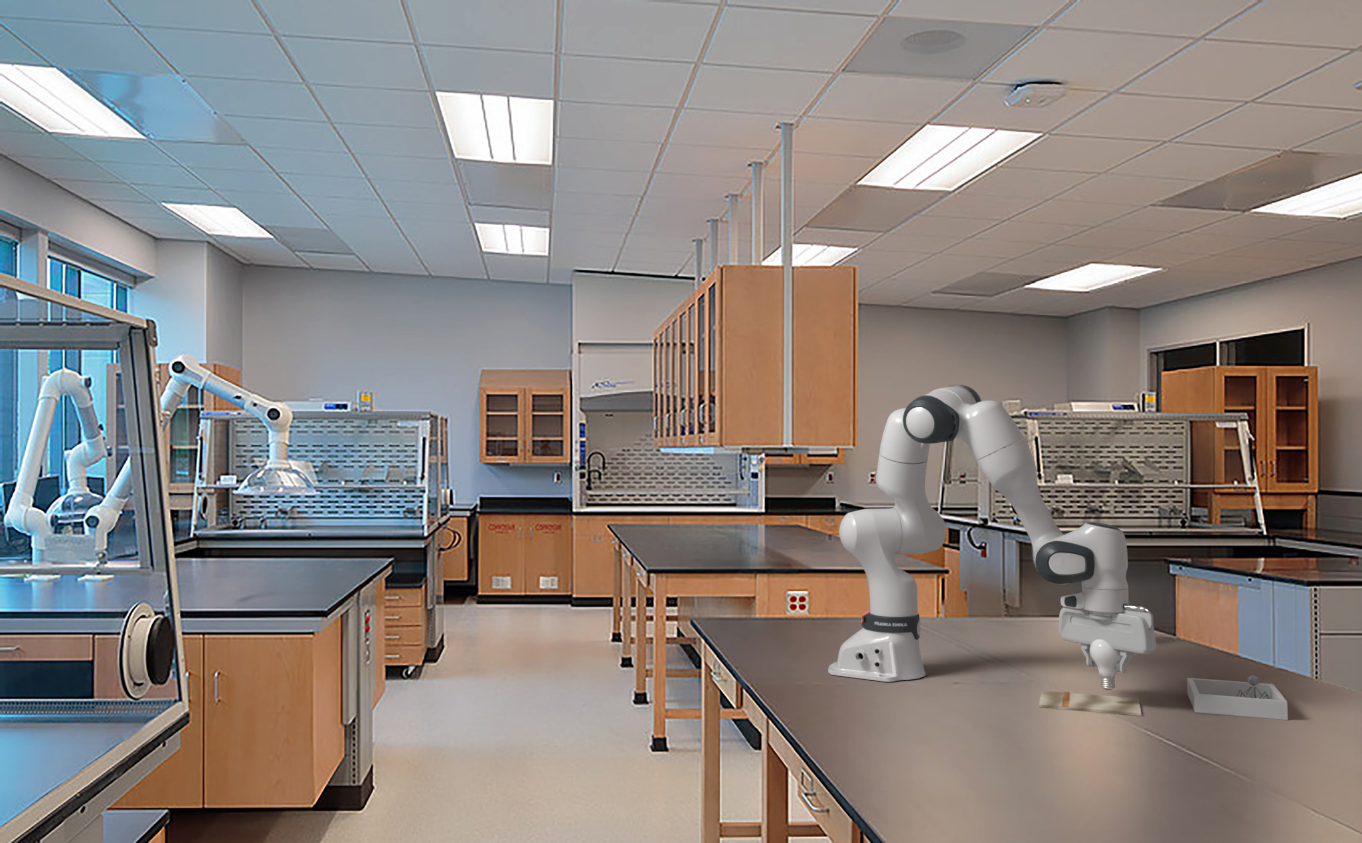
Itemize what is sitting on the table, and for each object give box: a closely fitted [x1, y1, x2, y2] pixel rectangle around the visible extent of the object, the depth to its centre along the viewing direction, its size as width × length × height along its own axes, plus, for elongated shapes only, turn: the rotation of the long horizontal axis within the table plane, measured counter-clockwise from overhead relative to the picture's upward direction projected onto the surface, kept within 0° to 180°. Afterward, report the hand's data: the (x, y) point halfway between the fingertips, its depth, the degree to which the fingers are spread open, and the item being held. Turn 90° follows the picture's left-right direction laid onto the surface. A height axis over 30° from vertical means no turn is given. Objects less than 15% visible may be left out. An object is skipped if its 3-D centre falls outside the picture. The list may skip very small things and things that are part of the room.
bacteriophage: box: [1237, 674, 1270, 699], centre depth 201 cm, size 7×8×7 cm
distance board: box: [1038, 690, 1142, 717], centre depth 204 cm, size 19×13×1 cm
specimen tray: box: [1186, 677, 1289, 721], centre depth 201 cm, size 16×16×4 cm
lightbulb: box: [1090, 639, 1123, 691], centre depth 203 cm, size 6×6×11 cm
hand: (1106, 668), depth 203 cm, fingers closed on lightbulb, 5 cm apart
